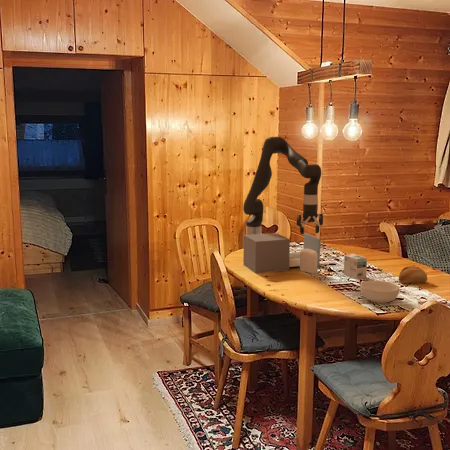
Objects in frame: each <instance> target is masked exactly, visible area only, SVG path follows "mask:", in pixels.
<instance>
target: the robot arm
mask: <svg viewBox="0 0 450 450" xmlns="http://www.w3.org/2000/svg"><path fill="white" fill-rule="evenodd" d="M275 154H281V155H284V156H285V157H286V159H287V161H288V163H289V164H290V166H292V167H293V168H294V169H296V170H297V171H298V173H299V174H300V175H301V177H303V178H304V179H309V181H308V182H306V183H304V186H303V198H302V199H303V201H302V214H298V213H297V215H296V226H297V227H299V233H300V234H301V235H304V233H305V225H306V224H307V223H314V225H315V229H314V232H315V233H316V234H319V233H320V226H323V225H324V214H323V213H322V212H319V213H318V208H319V205H318V204H319V197H318V195H319V194H318V193H319V192H318V190H319V184H320V182H321V181H320V180H321V177H322V168H321V166H320V165H319V164H315V163H313V164H309V161H308V159H306V158H305V157H304V156H303V155H301V154H300V153H298V151H296V150H295V149H294V148H293V147H292V146H291V145H290V144H289V143H288V142H287V141H286V140H285V139H284V137H281V136H269V137H266V139H265V140H264V142H263V147H262V149H261V155H260V159H259V162H258V166H257V169H256V171H255V174H254V177H253V179H252V183H251V186H250V189H249V191H248V193H247V196H246V198H245V200H244V203H243V208H242V209H243V213H244V214H245V215H247V216H251V218H249V219H248V220H247V219H246V223H245V224H246V225H245V235H252V234H262V228H263V227H262V223H263V221H264V220H263V219H264V204H263V201H262V200H261V199H260V198H258V197H259V196H260V195H261V194H262V193H263V191H264V190H266V189H267V188H268V186H269V184H270V182H271V179H272V175H273V170H272V167H271V159H272V156H273V155H275ZM317 218H318V219H317Z"/></svg>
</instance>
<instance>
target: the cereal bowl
mask: <svg viewBox="0 0 450 450" xmlns="http://www.w3.org/2000/svg"><path fill="white" fill-rule="evenodd" d="M359 288H360V294H361V295H362V296H363V297H364V298H365V299H367V300H369V301H370V302H372V303H375V304H386V303H389V302H392V301H394V300H396V298H398V296H399V293H400V286H399V285H397V284H395V283H392V282H389V281H385V280H378V279H377V280H375V279H374V280H365V281H362V282H361V283H360V286H359Z"/></svg>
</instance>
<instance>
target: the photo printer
mask: <svg viewBox="0 0 450 450" xmlns="http://www.w3.org/2000/svg"><path fill="white" fill-rule="evenodd" d="M299 252H300V266H299V270H300V271H302V272H306V273H307V274H308V273H309V274H315V275H316V274H317V273H318V266H317V262H318V254H317V252H315V251H314V250H311V249H303V248H302V249H301V250H300V251H299Z"/></svg>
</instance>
